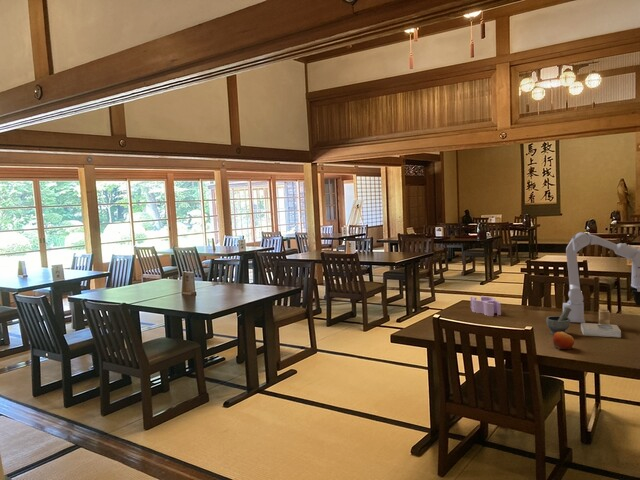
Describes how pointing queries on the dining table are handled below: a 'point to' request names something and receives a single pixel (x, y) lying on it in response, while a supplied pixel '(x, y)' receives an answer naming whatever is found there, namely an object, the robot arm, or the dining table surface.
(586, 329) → the white rectangular slab
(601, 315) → the peg
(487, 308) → the clip
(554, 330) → the mortar and pestle
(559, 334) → the fruit
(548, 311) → the dining table surface
